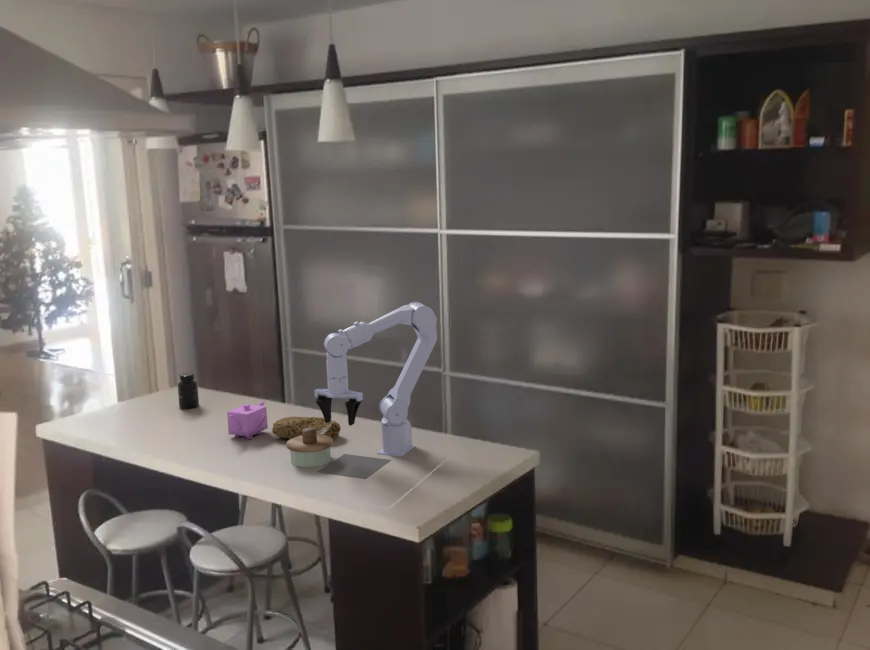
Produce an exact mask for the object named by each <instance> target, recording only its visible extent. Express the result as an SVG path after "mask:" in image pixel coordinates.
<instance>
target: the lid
mask: <svg viewBox="0 0 870 650" xmlns="http://www.w3.org/2000/svg"><path fill="white" fill-rule="evenodd" d="M333 445H334V439H332V438H331V437H329V436H326V435H319V434H317V432H316V428H305V429H303V430H302V436H298V437H295V438H292V439H289V440H287V442H286V448H287V450H289V451H290V450H291V451H295V452H316V451H321V450H324V449H327V448H329V447H330V448H331V447H332V446H333Z"/></svg>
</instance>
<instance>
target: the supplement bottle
mask: <svg viewBox="0 0 870 650" xmlns="http://www.w3.org/2000/svg"><path fill="white" fill-rule="evenodd" d="M177 396H178V407H179V408H180V410H181V409H182V410H193V409H197V408H198V407H199V406H200V399H199V397H200V396H199V385H198V382H197V381H196V380H195V373H193V372H183V373H180V374H179V382H178V383H177Z"/></svg>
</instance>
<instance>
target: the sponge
mask: <svg viewBox="0 0 870 650" xmlns="http://www.w3.org/2000/svg"><path fill="white" fill-rule="evenodd" d="M272 426H273V427H272V428H271V429H272V430H271V432H272V433H273V435H275V436H277V437H279V438H283V439H289V440H290V439H292V438H295V437H298V436H302V430H303V429H305V428H316V432H317V434H319V435H326V436H329V437H331V438H332V439H333V440H334V439H337V438H338V437H339V435H340V431H341V429H342V428H341V425H340V423H339V422H337V421H336V420H333V419H331V421H330V422H328V423H325V420H324V417H321V416H320V417H317V416H308V417H307V416H305V417H304V416H287V417H286V416H285V417H283V418H281V419H278V420H276V421H275V422H274V423H272Z"/></svg>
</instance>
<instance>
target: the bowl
mask: <svg viewBox="0 0 870 650" xmlns="http://www.w3.org/2000/svg"><path fill="white" fill-rule="evenodd" d="M289 451H290V452H289V453H290V463H291V465H293V466H295V467H299V468H300V467H301V468H316V467H320V466H324V465H327V464H329V463H330V462H332V461H331V459H332V458H331V447H329V448H327V449H324V450H321V451H316V452H295V451H291V450H289Z"/></svg>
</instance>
